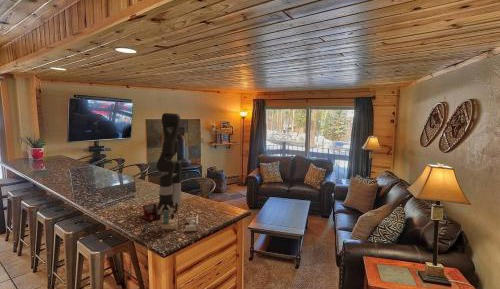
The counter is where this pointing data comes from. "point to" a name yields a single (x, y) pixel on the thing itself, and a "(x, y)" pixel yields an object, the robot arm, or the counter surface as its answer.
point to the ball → (192, 222)
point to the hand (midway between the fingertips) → (165, 219)
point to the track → (155, 225)
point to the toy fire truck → (150, 212)
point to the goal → (192, 227)
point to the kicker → (168, 221)
